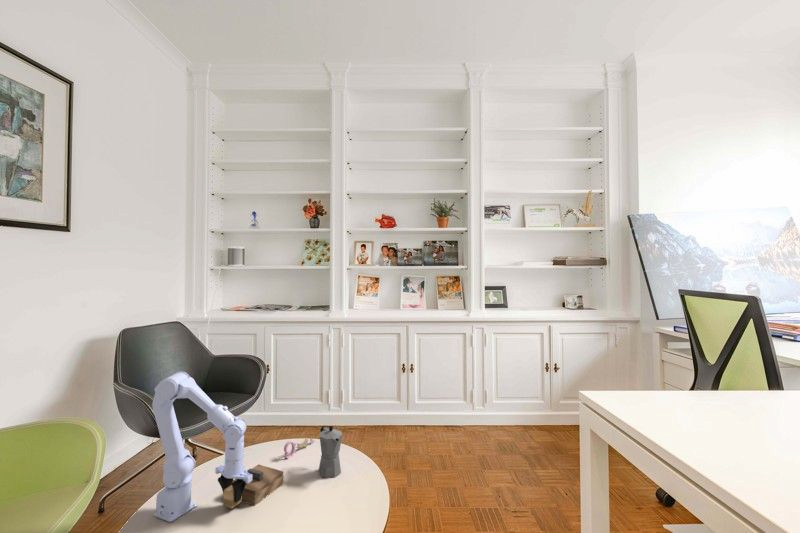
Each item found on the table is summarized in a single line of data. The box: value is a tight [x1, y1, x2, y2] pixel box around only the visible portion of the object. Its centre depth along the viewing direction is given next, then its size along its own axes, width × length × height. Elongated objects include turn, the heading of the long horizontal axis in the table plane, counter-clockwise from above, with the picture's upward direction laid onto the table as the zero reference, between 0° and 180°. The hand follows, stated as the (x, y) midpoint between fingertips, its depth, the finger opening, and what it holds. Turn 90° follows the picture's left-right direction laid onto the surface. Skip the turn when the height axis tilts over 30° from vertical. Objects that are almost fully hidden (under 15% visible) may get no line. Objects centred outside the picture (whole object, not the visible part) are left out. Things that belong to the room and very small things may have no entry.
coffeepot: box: [318, 425, 343, 479], centre depth 147 cm, size 15×9×18 cm, turn 36°
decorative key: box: [283, 438, 316, 460], centre depth 164 cm, size 7×1×20 cm
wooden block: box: [222, 485, 243, 509], centre depth 123 cm, size 4×4×5 cm
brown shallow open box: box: [242, 474, 284, 506], centre depth 133 cm, size 14×12×3 cm
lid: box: [233, 464, 284, 494], centre depth 133 cm, size 14×12×4 cm
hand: (232, 499), depth 123 cm, fingers closed on wooden block, 4 cm apart
